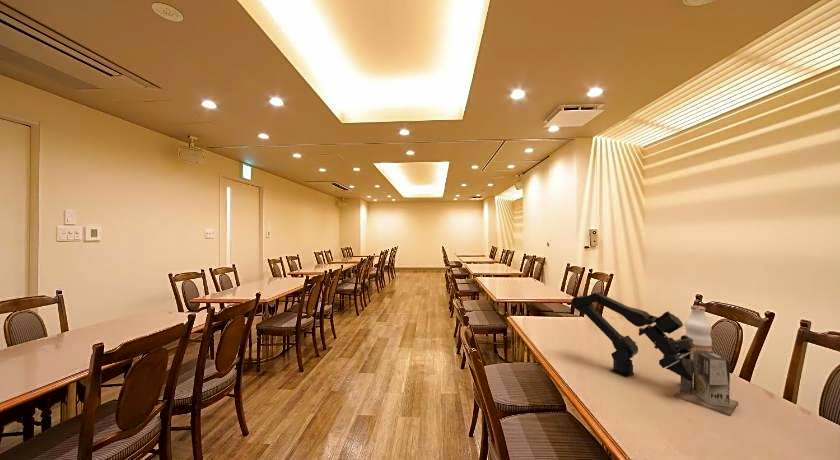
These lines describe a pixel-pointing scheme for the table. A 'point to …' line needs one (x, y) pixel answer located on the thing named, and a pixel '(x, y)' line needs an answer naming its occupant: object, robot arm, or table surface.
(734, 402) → the pull board
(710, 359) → the coffee box
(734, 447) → the table surface
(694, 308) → the fruit juice
